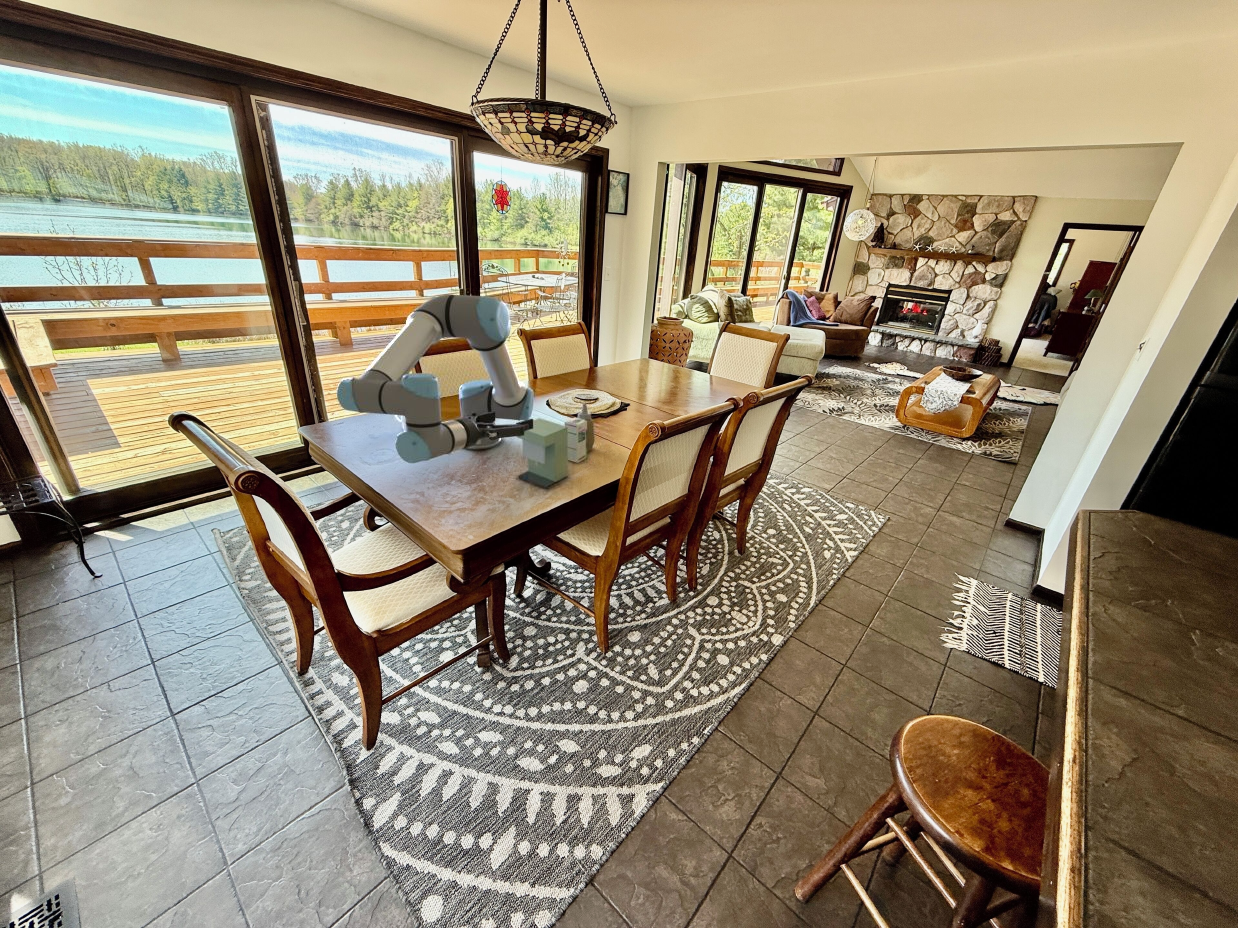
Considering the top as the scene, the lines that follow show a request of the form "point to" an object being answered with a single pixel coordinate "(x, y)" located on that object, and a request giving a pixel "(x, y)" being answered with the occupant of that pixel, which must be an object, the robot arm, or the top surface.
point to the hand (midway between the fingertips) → (512, 419)
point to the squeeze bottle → (588, 426)
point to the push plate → (533, 451)
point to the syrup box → (577, 439)
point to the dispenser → (547, 454)
